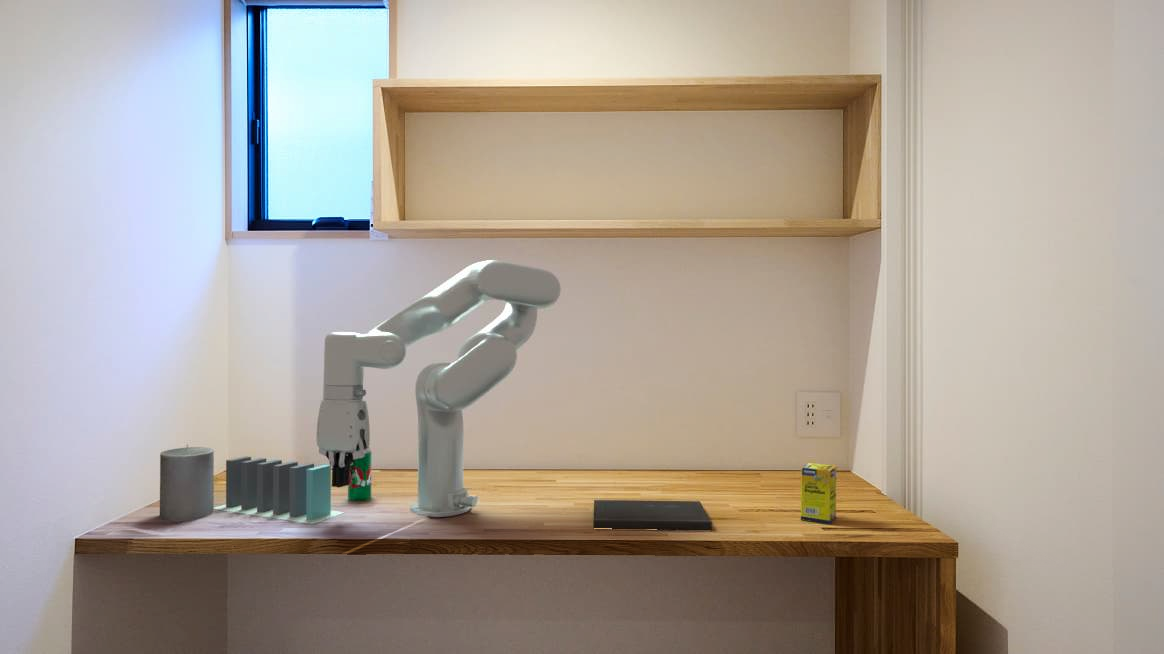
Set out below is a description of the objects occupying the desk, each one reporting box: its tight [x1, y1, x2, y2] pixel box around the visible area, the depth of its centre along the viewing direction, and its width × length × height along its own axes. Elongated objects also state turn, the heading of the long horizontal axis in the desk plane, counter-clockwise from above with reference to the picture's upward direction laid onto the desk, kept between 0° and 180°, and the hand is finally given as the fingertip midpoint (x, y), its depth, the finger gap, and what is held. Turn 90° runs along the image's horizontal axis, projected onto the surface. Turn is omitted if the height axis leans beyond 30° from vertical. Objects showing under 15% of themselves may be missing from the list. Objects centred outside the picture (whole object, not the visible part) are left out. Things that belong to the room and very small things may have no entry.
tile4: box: [257, 459, 283, 513], centre depth 146 cm, size 2×5×10 cm, turn 157°
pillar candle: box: [159, 444, 215, 522], centre depth 142 cm, size 10×10×15 cm
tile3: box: [273, 460, 299, 515], centre depth 145 cm, size 2×5×10 cm, turn 157°
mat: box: [213, 504, 346, 525], centre depth 145 cm, size 28×9×1 cm, turn 67°
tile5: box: [241, 457, 267, 510], centre depth 148 cm, size 2×5×10 cm, turn 157°
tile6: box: [225, 455, 252, 508], centre depth 150 cm, size 2×5×10 cm, turn 157°
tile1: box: [306, 464, 332, 520], centre depth 141 cm, size 2×5×10 cm, turn 157°
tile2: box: [290, 462, 315, 518], centre depth 143 cm, size 2×5×10 cm, turn 157°
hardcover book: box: [592, 499, 713, 531], centre depth 143 cm, size 16×23×2 cm
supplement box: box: [800, 462, 837, 525], centre depth 143 cm, size 6×6×11 cm
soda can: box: [347, 446, 373, 502], centre depth 156 cm, size 5×5×12 cm
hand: (340, 485), depth 138 cm, fingers closed
